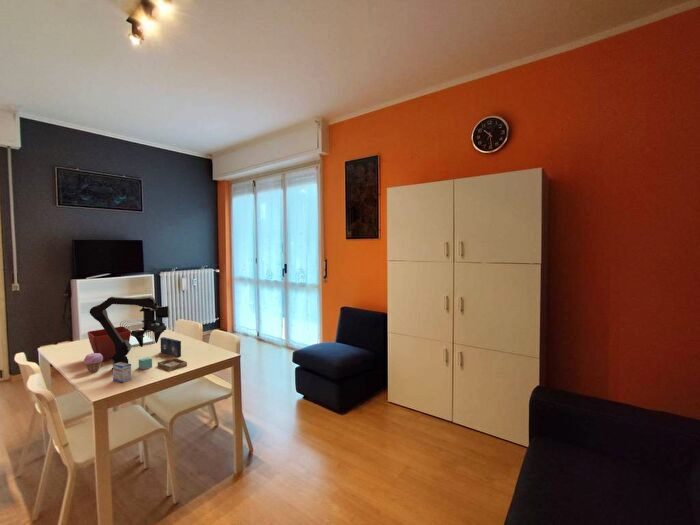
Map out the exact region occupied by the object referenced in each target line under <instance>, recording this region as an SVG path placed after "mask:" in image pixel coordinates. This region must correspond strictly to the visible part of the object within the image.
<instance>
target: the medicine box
mask: <svg viewBox="0 0 700 525" xmlns="http://www.w3.org/2000/svg"><path fill="white" fill-rule="evenodd" d="M112 368H113V369H112V380H113V381H114V382H118V383H122V384H123V383H127V382H130V381H131V380H132V364H131V363H129V362H128V363H123V362H119V363H116V364H113V363H112Z"/></svg>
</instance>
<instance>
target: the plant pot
mask: <svg viewBox="0 0 700 525" xmlns="http://www.w3.org/2000/svg"><path fill="white" fill-rule="evenodd" d="M114 327H115V329H116V330H117V332H118V333H119V335H120V336H121V338H122V339H123V340H128V342H129V340H130V337H131V330H130V329H129V328H128V329H127V328H126V326H125V327H124V325H123V326H122V325H121V327H120V326H114ZM87 336H88V340H89V344H90V346H91V350H92V351H93V352H92V353H100V354H101V355H102V356H103V361H102V362H107V361H111V360H112V361H113V359H112V356H113V355H114V354H115V353H116V350H115V347H114V343H113V341H112V340H111V338H110V337H109V335H108V334H107V332H106V331H105V329H104V328H103V329H96V330H90V331H87ZM102 362H101V363H102Z"/></svg>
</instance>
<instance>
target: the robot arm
mask: <svg viewBox="0 0 700 525" xmlns="http://www.w3.org/2000/svg"><path fill="white" fill-rule="evenodd" d="M112 305H120V306H121V305H123V306H124V305H127V306H128V305H129V306H137V307H138V306H139V307H141V308H140V310H139V312H142V313H143V318H142V319H143V320H141V321H142V322H143V323H142V324H143V326H142V327H141V329H134V330H132V331H131V330H130V331H131V334H130V337H132V336H133V337H135V338H136V339H137V341H138V342H139V344H140V346H139V347H141V348H143V347H144V345H143V337H144V336H143V335H144V333H145V334H146V333H147V334H148V332H149V333H150V332H151V333H152V331H153V339H154V341H155V343H154V344H158V342H159V340H160V339H159V338H161V335H162V334H163V332H164V333H165V331H166V330H167V326H166V325H165V323H164V322H160V323H158V321H157V319H164V318H165V319H166V318H167V319H168V318H170V310H169V305H165V306H160V305H158V303H157V302H156V299H155V298H154V296H143V297H122V296H121V297H120V296H119V297H118V296H110V297H107V299H105V300H104V301H103V302H101V303H100V304H97V305H95V306H92V307H91V308H90V309H89V315H91V317H92V318H93V319H94V320H95V321H97V322H98V323H100V325H101V327H102V328H103V329H105V331H106V332H107V334H108V335H109V337H110V338H111V340H112V341H113V343H114V347H115V350H116V353H115V354H114V355H113V356H112V359H113V360H112V365H113V364H116V363H119V362H123V363H128V364H129V358H128V356H127V355H128V354H129V352H130V351H131V348H132V347H131V344H130V343H129V342H128V340H123V339H122V338H121V336H120V335H119V333H118V332H117V330H116V329H115V327H116V326H114V324H113V322H112V321H111V320H110V318H109V316H108V311H107V309H108V308H110V307H111V306H112ZM156 318H157V319H156ZM111 370H113V367H111Z"/></svg>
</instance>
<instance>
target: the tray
mask: <svg viewBox="0 0 700 525" xmlns="http://www.w3.org/2000/svg"><path fill="white" fill-rule="evenodd" d="M187 366H188V361H185V360H183V359H179V358H178V357H172V358H169V359H165V360H161V361H158V362H157V367H158V368H161V369H164V370H167V371H173V370H177V369H181V368H184V367H187Z"/></svg>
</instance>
